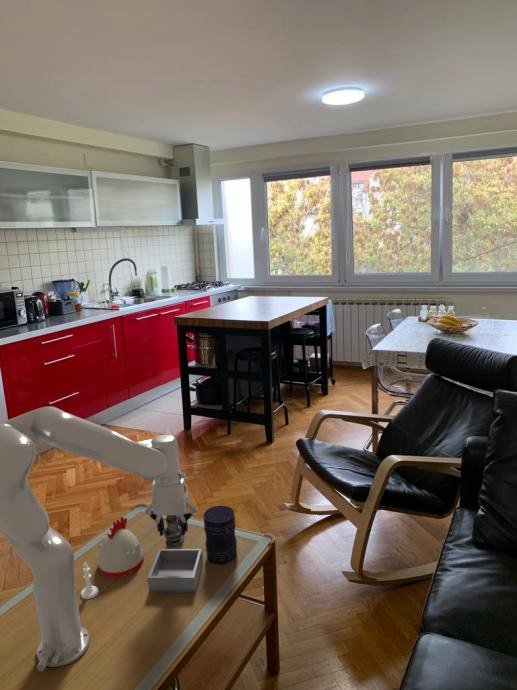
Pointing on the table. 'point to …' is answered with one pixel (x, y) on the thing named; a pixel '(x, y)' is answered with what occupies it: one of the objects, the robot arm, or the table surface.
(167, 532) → the grey pawn
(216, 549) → the storage jar
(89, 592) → the chess piece
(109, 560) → the kitchen timer
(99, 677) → the table surface
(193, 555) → the box
